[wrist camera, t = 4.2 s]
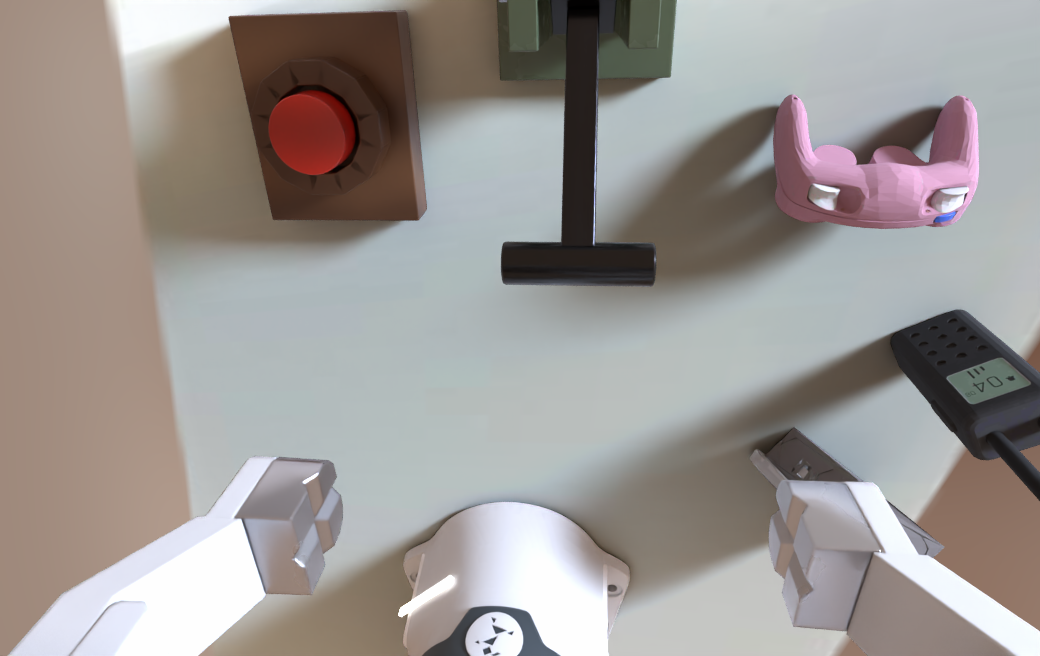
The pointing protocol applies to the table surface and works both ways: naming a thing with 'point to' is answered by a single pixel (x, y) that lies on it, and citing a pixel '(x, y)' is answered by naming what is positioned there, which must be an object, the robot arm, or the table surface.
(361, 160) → the button block
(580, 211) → the lever
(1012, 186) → the table surface
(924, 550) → the electrical switch
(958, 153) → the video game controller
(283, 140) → the button
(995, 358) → the walkie-talkie
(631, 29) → the bracket
